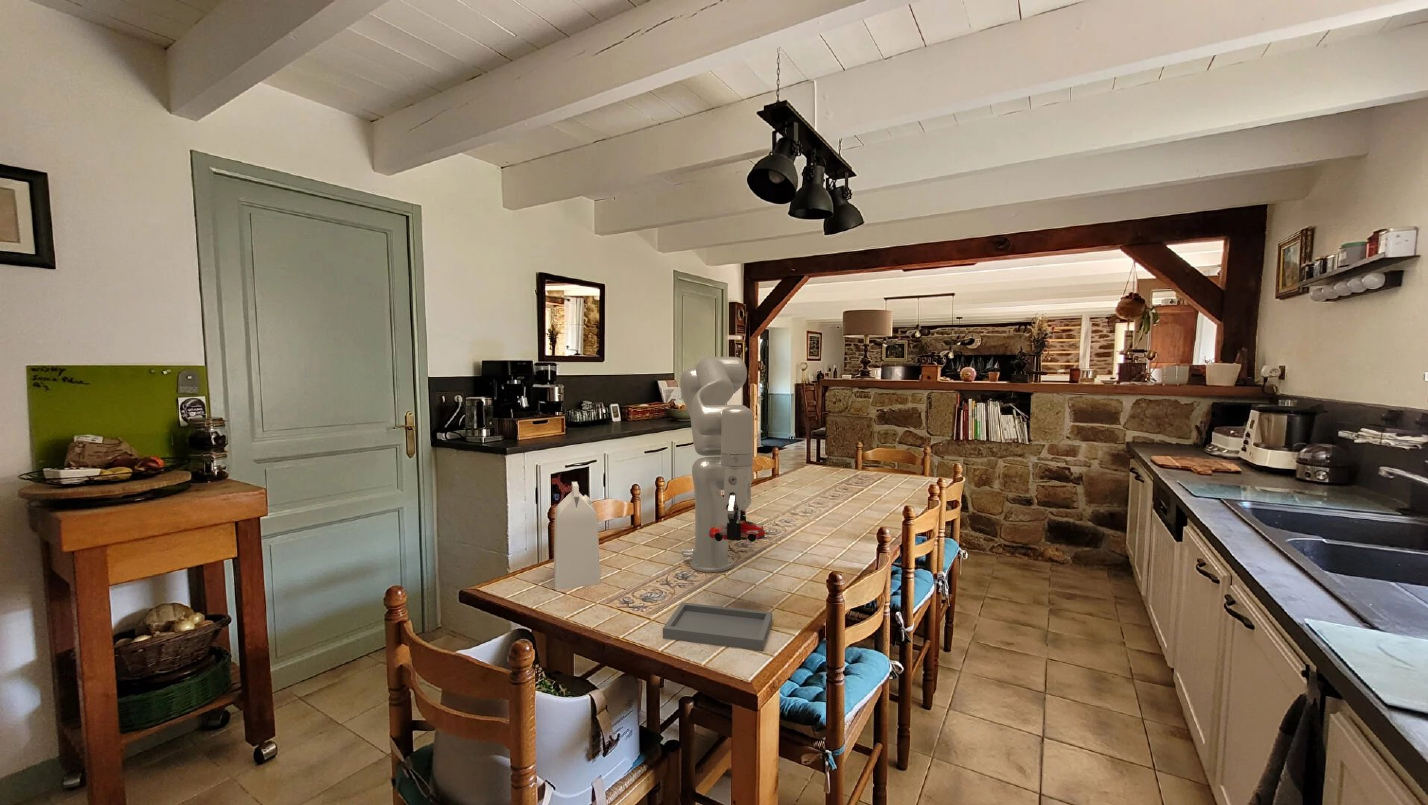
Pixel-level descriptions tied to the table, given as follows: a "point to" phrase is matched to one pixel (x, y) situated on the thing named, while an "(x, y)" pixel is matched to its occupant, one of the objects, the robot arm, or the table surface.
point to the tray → (719, 626)
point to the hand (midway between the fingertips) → (736, 535)
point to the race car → (747, 531)
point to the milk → (576, 542)
